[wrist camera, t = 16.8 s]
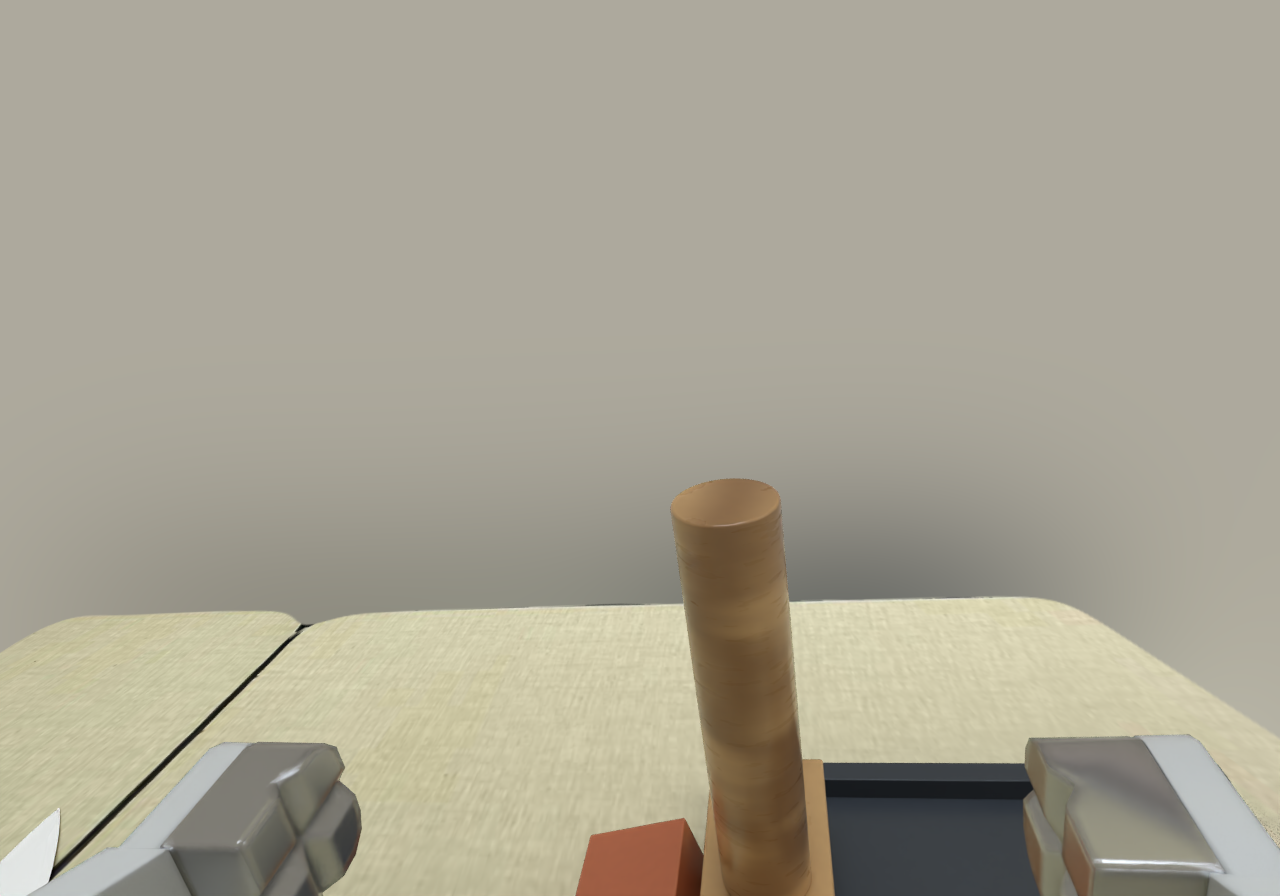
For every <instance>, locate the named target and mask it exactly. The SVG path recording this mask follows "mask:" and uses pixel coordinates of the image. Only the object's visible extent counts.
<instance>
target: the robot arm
mask: <svg viewBox="0 0 1280 896" xmlns="http://www.w3.org/2000/svg"><path fill="white" fill-rule="evenodd" d="M344 769H345V766H344V764H343V761H342V759H341V757H340V754H339V752H338V750H337V747H335V746H332V745H328V744H325V743H282V742H257V743H239V742H223V743H221V744H219V745H217V746H214V747H212V748H210V749H209V750H208V751H207V752H206V753H205V754H204V755H203V756H202V757H201V759H200V760H199V761H198V762H197V763H196V764H195V765H194V766H193V767H192V768H191V769H190V771H189V772H188V773H187V774H186V775H185V776H184V777H183V778H182V779H181V780H180V781H179V782H178V784H177V785H176V786H175V787H174V788H173V789H172V790H171V791H170V792H169V793H168V794H167V795H166V797H165V798H164V799H163V800H162V801H161V802H160V803H159V804H158V805H157V806H156V807H155V808H154V810H153V811H152V812H151V813H150V814H149V815H148V816H147V817H146V818H145V819H144V820H143V821H142V823H141V824H140V825H139V826H138V827H137V828H136V829H135V830H134V831H133V832H132V833H131V834H130V836H129V837H128V838H127V839H126V840H125V841H124V842H123V843H122V844H121V845H120V846H119V847H114V848H106V849H104V850H102V851H101V852H99V853H97V854H96V855H94V856H92V857H91V858H89V859H87V860H85V861H84V862H82V863H80V864H79V865H77V866H75V867H74V868H72V869H70V870H69V871H67V872H65V873H64V874H62V875H60V876H59V877H57V878H55V879H53V880H52V881H50V882H48V883H47V884H45V885H43V886H42V887H40V888H38V889H37V890H35V891H33V892H32V893H30V894H28V895H27V896H323V892H324V891H325V890H327V889H328V888H329V887H330V886H332V885H333V884H334V883H336V882H337V881H338V880H339V879H341V878H342V877H343V876H344V875H345V873H346V871H347V869H348V867H349V866H350V864H351V862H352V860H353V858H354V856H355V855H356V851H357V847H358V842H359V838H360V834H361V830H362V826H361V810H360V807H359V804H358V801H357V798H356V796H355V794H354V793H353V792H352V791H350V790H349V789H348V788H347V787H346V786H345V785H344V784H342V783H341V782H340V781H339V780H340V778H341V775H342V773H343V771H344ZM1025 769H1026V772H1027V774H1028V777H1029V779H1030V782H1031V784H1032V787H1033V790H1032V791H1031V792H1030V793H1029V794H1028V795H1027V796H1026V797H1025V798H1024V799H1023V828H1024V835H1025V842H1026V849H1027V854H1028V858H1029V862H1030V865H1031V869H1032V873H1033V876H1034V879H1035V882H1036V884H1037V887H1038V890H1039V893H1040V896H1280V849H1279V847H1278V846H1277V845H1276V843H1275V842H1274V841H1273V839H1272V838H1271V837H1270V835H1269V834H1268V833H1267V831H1266V830H1265V829H1264V827H1263V826H1262V824H1261V823H1260V822H1259V820H1258V819H1257V818H1256V816H1255V815H1254V814H1253V812H1252V811H1251V810H1250V808H1249V807H1248V806H1247V804H1246V803H1245V802H1244V800H1243V799H1242V797H1241V796H1240V795H1239V793H1238V792H1237V791H1236V789H1235V788H1234V787H1233V785H1232V784H1231V783H1230V781H1229V780H1228V779H1227V777H1226V776H1225V775H1224V773H1223V772H1222V770H1221V769H1220V768H1219V766H1218V765H1217V764H1216V762H1215V761H1214V760H1213V758H1212V757H1211V756H1210V754H1209V753H1208V752H1207V750H1206V749H1205V748H1204V746H1203V745H1202V743H1201V742H1200V741H1198V740H1197V739H1195V738H1194V737H1192V736H1191V735H1144V736H1134V737H1129V736H1121V737H1056V738H1029V740H1028V743H1027V745H1026V749H1025Z"/></svg>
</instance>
